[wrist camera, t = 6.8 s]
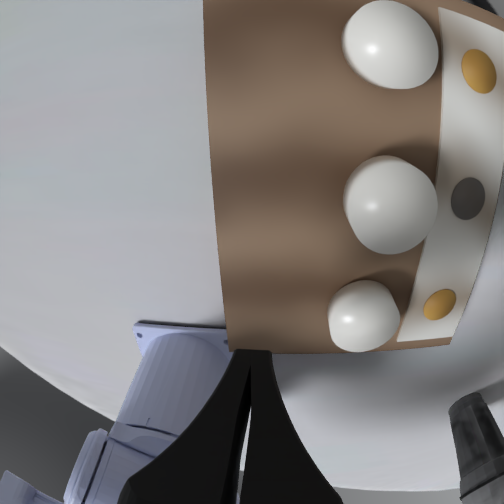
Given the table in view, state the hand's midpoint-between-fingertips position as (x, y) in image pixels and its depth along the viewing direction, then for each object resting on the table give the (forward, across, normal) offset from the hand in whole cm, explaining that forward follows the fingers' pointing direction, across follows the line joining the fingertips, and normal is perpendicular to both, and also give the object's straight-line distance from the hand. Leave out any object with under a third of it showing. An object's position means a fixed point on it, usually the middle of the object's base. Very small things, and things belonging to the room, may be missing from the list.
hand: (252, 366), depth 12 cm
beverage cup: (+9, -24, +19) cm, 32 cm away
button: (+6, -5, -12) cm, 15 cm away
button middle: (+5, -6, -5) cm, 9 cm away
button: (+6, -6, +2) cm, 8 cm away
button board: (+9, -6, -5) cm, 12 cm away
